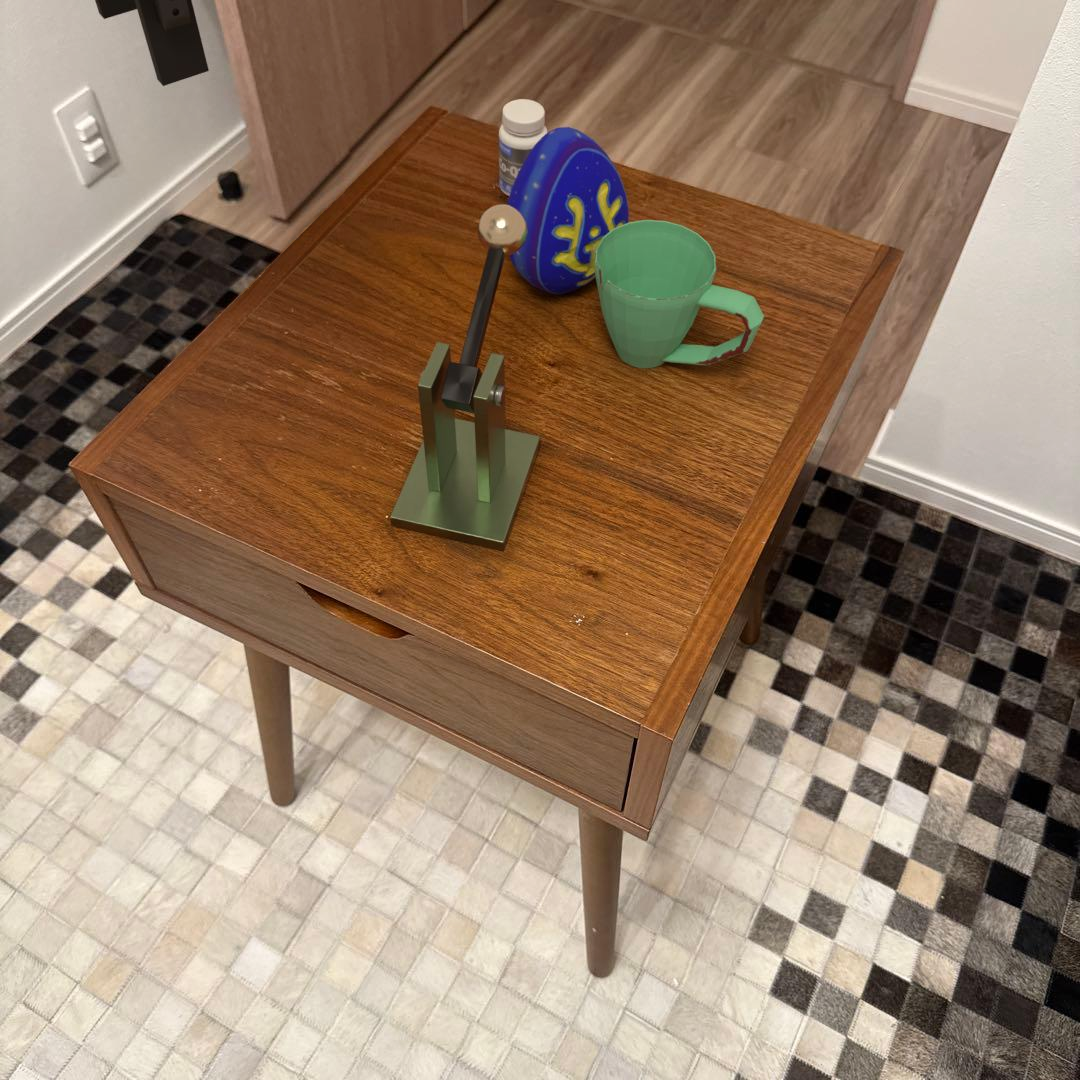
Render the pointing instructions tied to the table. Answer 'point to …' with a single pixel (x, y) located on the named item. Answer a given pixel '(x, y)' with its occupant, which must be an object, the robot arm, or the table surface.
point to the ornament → (565, 209)
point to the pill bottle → (518, 138)
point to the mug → (665, 294)
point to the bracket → (466, 462)
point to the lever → (483, 302)
